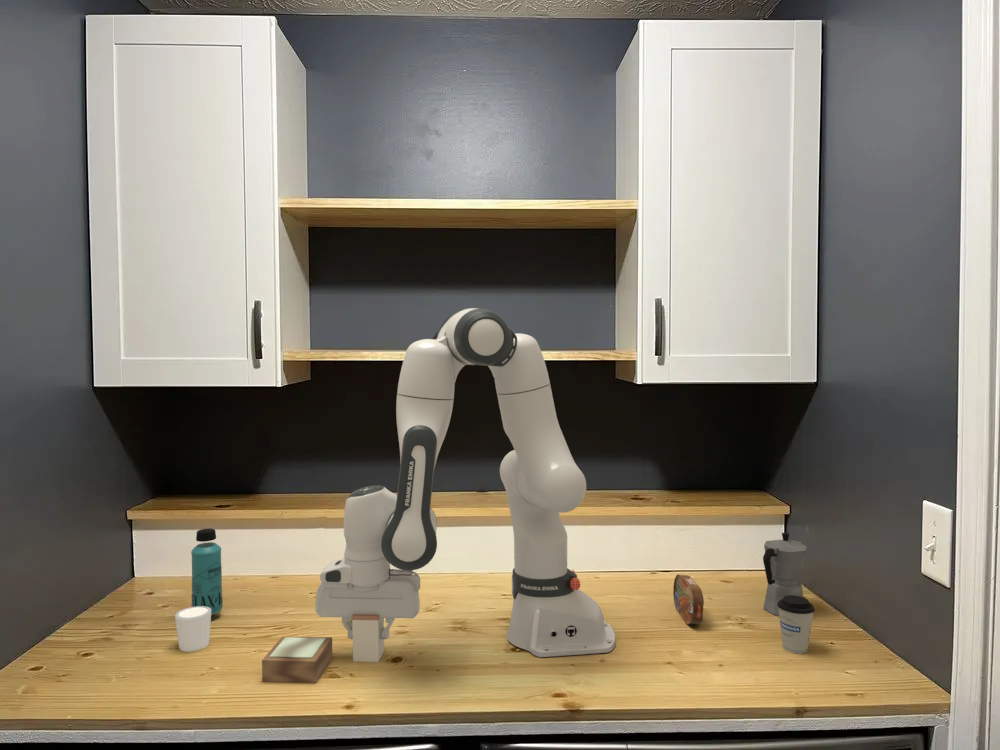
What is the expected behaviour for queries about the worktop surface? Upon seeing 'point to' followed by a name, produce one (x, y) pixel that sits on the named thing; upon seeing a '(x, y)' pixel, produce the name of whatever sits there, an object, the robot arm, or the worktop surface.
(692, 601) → the tin
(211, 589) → the beverage bottle
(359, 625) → the two-tone lidded box
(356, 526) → the robot arm
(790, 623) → the coffee cup
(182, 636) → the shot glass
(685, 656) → the worktop surface
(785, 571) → the coffeepot
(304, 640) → the base
